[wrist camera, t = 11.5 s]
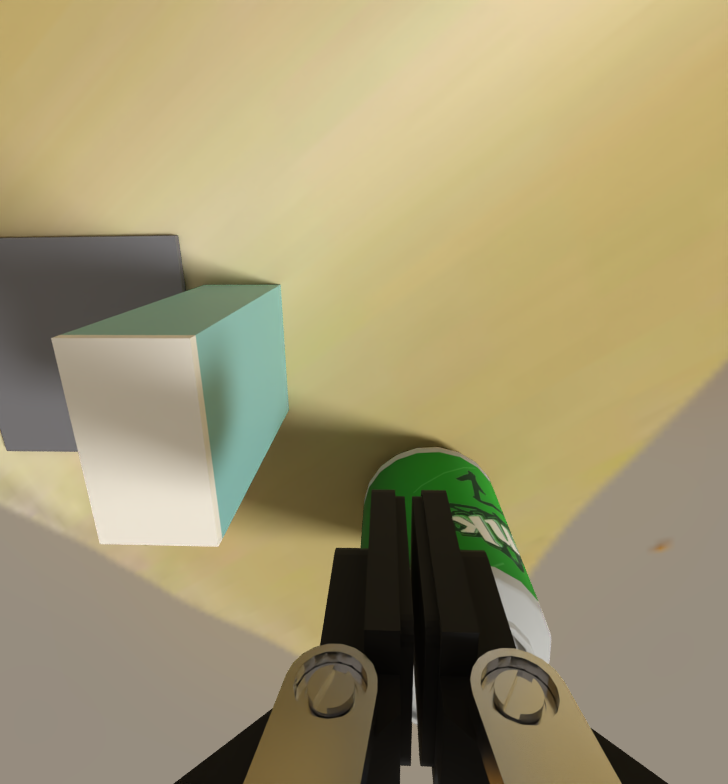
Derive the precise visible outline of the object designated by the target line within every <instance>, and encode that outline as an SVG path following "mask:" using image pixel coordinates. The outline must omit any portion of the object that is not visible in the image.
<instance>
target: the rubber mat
mask: <svg viewBox="0 0 728 784" xmlns="http://www.w3.org/2000/svg"><path fill="white" fill-rule="evenodd" d="M185 291H186V289H185V282H184V275H183V268H182V260H181V253H180V246H179V239H178V236H107V237H30V238H0V430H1V433H2V437H3V440H4V443H5V447H6V450H7V451H64V452H78V449H77V445H76V441H75V437H74V432H73V428H72V424H71V420H70V416H69V411H68V407H67V403H66V399H65V395H64V390H63V386H62V382H61V378H60V374H59V369H58V365H57V361H56V357H55V353H54V348H53V344H52V340H51V338H53V337H56V336H58V335H61V334H64V333H67V332H70V331H73V330H76V329H79V328H81V327H84V326H87V325H90V324H93V323H96V322H99V321H102V320H104V319H107V318H110V317H113V316H116V315H119V314H122V313H125V312H127V311H130V310H133V309H136V308H139V307H142V306H145V305H148V304H151V303H153V302H156V301H159V300H162V299H165V298H168V297H171V296H174V295H176V294H179V293H182V292H185Z"/></svg>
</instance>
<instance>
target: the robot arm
mask: <svg viewBox="0 0 728 784" xmlns="http://www.w3.org/2000/svg"><path fill="white" fill-rule="evenodd" d="M413 667H414V679H415V694H416V710H417V725H418V740H419V756H420V765H421V766H430V767H432V775H433V784H668V783H667V782H665V781H664V780H662V779H661V778H660V777H658V776H657V775H655V774H654V773H653V772H651V771H650V770H648V769H647V768H646V767H644V766H643V765H641V764H640V763H639V762H637V761H636V760H635V759H633V758H632V757H630V756H629V755H627V754H626V753H625V752H623V751H622V750H621V749H619V748H618V747H616V746H615V745H614V744H612V743H611V742H610V741H608V740H607V739H605V738H604V737H603V736H601V735H600V734H598V733H597V732H596V731H594V730H593V729H591V728H590V727H589V725H588V723H587V721H586V719H585V718H584V716H583V714H582V712H581V711H580V709H579V707H578V705H577V703H576V702H575V700H574V698H573V696H572V694H571V693H570V691H569V689H568V688H567V686H566V684H565V682H564V681H563V680H562V679H561V677H560V676H559V674H558V673H557V671H556V670H555V669H553V668H552V667H551V666H550V665H549V664H548V663H546V662H545V661H544V660H543V659H541V658H539V657H537V656H535V655H533V654H531V653H529V652H526V651H522V650H518V649H516V646H515V642H514V639H513V636H512V633H511V630H510V626H509V623H508V620H507V617H506V614H505V610H504V607H503V604H502V601H501V598H500V594H499V591H498V588H497V585H496V582H495V578H494V575H493V572H492V569H491V566H490V563H489V559H488V556H487V554H486V552H485V551H484V550H460V548H459V544H458V539H457V535H456V531H455V527H454V522H453V518H452V514H451V509H450V505H449V501H448V496H447V492H446V490H421V496H412V512H411V556H410V562H409V548H408V534H407V521H406V507H405V496H395V490H382V489H372V490H371V508H370V527H369V546H368V548H336V549H335V554H334V560H333V567H332V573H331V579H330V586H329V592H328V598H327V605H326V611H325V618H324V624H323V630H322V637H321V643H320V646H317V647H314V648H312V649H310V650H308V651H307V652H305V653H303V654H302V655H301V656H300V657H299V658H298V659H297V660H296V661H294V662H293V664H292V665H291V667H290V669H289V670H288V672H287V674H286V676H285V679H284V681H283V684H282V686H281V689H280V691H279V694H278V696H277V699H276V701H275V704H274V707H273V708H272V709H271V710H270V711H268V712H267V713H266V714H265V715H263V716H262V717H261V718H259V719H258V720H257V721H255V722H254V723H253V724H251V725H250V726H249V727H247V728H246V729H245V730H244V731H242V732H241V733H240V734H238V735H237V736H236V737H234V738H233V739H232V740H230V741H229V742H228V743H227V744H225V745H224V746H223V747H221V748H220V749H219V750H217V751H216V752H215V753H213V754H212V755H211V756H209V757H208V758H207V759H205V760H204V761H203V762H202V763H200V764H199V765H198V766H196V767H195V768H194V769H192V770H191V771H190V772H188V773H187V774H186V775H184V776H183V777H182V778H181V779H179V780H178V781H177V782H175V783H174V784H400V765H402V766H403V765H404V766H411V738H412V737H411V736H412V702H413Z"/></svg>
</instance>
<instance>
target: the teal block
mask: <svg viewBox="0 0 728 784" xmlns="http://www.w3.org/2000/svg"><path fill="white" fill-rule="evenodd" d="M51 340H52V344H53V348H54V353H55V357H56V361H57V365H58V369H59V374H60V378H61V382H62V386H63V390H64V395H65V399H66V403H67V407H68V411H69V416H70V420H71V424H72V428H73V432H74V437H75V441H76V445H77V449H78V454H79V458H80V462H81V466H82V470H83V475H84V479H85V483H86V487H87V491H88V496H89V500H90V504H91V508H92V512H93V517H94V521H95V525H96V529H97V534H98V538H99V542H100V544H127V545H172V546H217V547H218V546H219V544H220V542H221V540H222V538H223V536H224V535H225V533H226V531H227V529H228V527H229V525H230V523H231V521H232V519H233V517H234V515H235V513H236V511H237V509H238V507H239V505H240V504H241V502H242V500H243V498H244V496H245V494H246V492H247V490H248V488H249V486H250V484H251V482H252V480H253V478H254V476H255V474H256V473H257V471H258V469H259V467H260V465H261V463H262V461H263V459H264V457H265V455H266V453H267V451H268V449H269V447H270V445H271V443H272V442H273V440H274V438H275V436H276V434H277V432H278V430H279V428H280V426H281V424H282V422H283V420H284V418H285V416H286V414H287V412H288V411H289V405H288V390H287V375H286V360H285V345H284V330H283V315H282V300H281V285H202V286H199V287H197V288H194V289H191V290H188V291H185V292H182V293H179V294H176V295H174V296H171V297H168V298H165V299H162V300H159V301H156V302H153V303H151V304H148V305H145V306H142V307H139V308H136V309H133V310H130V311H127V312H125V313H122V314H119V315H116V316H113V317H110V318H107V319H104V320H102V321H99V322H96V323H93V324H90V325H87V326H84V327H81V328H79V329H76V330H73V331H70V332H67V333H64V334H61V335H58V336H56V337H53V338H51Z"/></svg>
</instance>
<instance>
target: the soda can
mask: <svg viewBox="0 0 728 784" xmlns="http://www.w3.org/2000/svg"><path fill="white" fill-rule="evenodd" d="M372 489H382V490H395V496H405V507H406V521H407V534H408V548H409V562H410V556H411V512H412V496H421V490H446V492H447V496H448V501H449V505H450V509H451V514H452V518H453V522H454V527H455V531H456V535H457V539H458V544H459V548H460V550H484V551H485V552H486V554H487V556H488V559H489V563H490V566H491V569H492V572H493V575H494V578H495V582H496V585H497V588H498V591H499V594H500V598H501V601H502V604H503V607H504V610H505V614H506V617H507V620H508V623H509V626H510V630H511V633H512V636H513V639H514V642H515V646H516V649H518V650H522V651H526V652H529V653H531V654H533V655H535V656H537V657H539V658H541V659H543V660H544V661H545V662H546V663H549V661H550V649H551V634H550V631H549V629H548V626H547V623H546V620H545V617H544V615H543V612H542V609H541V607H540V604H539V602H538V599H537V597H536V594H535V592H534V589H533V587H532V584H531V582H530V579H529V577H528V574H527V572H526V569H525V567H524V564H523V562H522V559H521V557H520V554H519V552H518V549H517V547H516V544H515V542H514V539H513V537H512V534H511V532H510V529H509V527H508V524H507V522H506V519H505V517H504V515H503V512H502V510H501V507H500V505H499V502H498V500H497V497H496V495H495V492H494V490H493V487H492V485H491V482H490V480H489V477H488V476H487V475H486V474H485V473H484V472H483V470H482V469H481V468H480V467H479V466H478V464H477V463H476V462H474V461H473V460H471V459H469V458H468V457H466V456H464V455H463V454H461V453H459V452H456V451H452V450H448V449H444V448H440V447H428V448H415V449H412V450H409V451H406V452H404V453H401V454H398V455H396V456H395V457H393V458H392V459H390V460H389V461H388V462H386V463H385V464H383V465H382V466H381V467H380V468H379V469H378V471H377V472H376V474H375V475H374V476H373V478H372V479H371V481H370V482H369V485H368V489H367V492H366V496H365V499H364V510H363V523H362V536H361V548H368V546H369V527H370V508H371V490H372ZM412 723H414V724H416V725H417V710H416V694H415V679H414V667H413V702H412Z"/></svg>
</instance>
